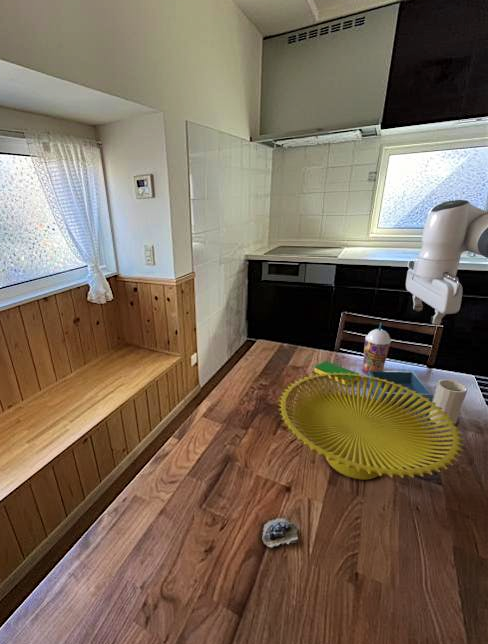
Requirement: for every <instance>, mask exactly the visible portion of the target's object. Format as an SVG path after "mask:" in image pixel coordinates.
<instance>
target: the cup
mask: <svg viewBox="0 0 488 644" xmlns="http://www.w3.org/2000/svg"><path fill="white" fill-rule="evenodd" d="M467 393H468V387H467V386H466V385H465V384H464V383H462V382H459V381H456V380H454V379H445V378H444V379H440V380H438V381H437V383H436V387H435V391H434V393H433V395H434V396H433V400H432V402H433V403H436V404H435V405H436V406H437V407H442V409H441V410H442V411H444V412H448V413H447V414H446V415H447V416H449V417H452V419H450V420H451V421H452V422H455V423H456V424H454V426H456V425H457V422H458V420H459V417H460V413H461V411H462V407H463V404H464V402H465V399H466V395H467ZM431 407H432V405H431ZM437 411H438V410H437V409H436V410H433V411H431V412H429V413H428V415H430V414H433V413H435V412H437ZM440 416H442V415H441V414H439V415H436V416H434V417H431V418H429V419H430V420H433V419H435V418H438V417H440ZM430 420H429V421H430ZM444 421H446V419H443V420H439V421H436V422H433V423H435V424H438V423H441V422H444ZM447 426H449V424H446V425H442V426H441V427H447Z"/></svg>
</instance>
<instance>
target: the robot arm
mask: <svg viewBox="0 0 488 644" xmlns="http://www.w3.org/2000/svg"><path fill="white" fill-rule="evenodd" d="M426 216H427V217H426V219H425V222H424V226H423V230H422V234H421V249H420V250H419V253H418V255H417V258H415V259H409V260H408V261H407V268H408V270H407V271H406V278H405V289H406V291H407V292H409V293H410V294H411V295H412V302H413V306H412V309H413V310H414V311H415V312H421V311H423V307H424V305H423V303H422V302H424V303H425V304H427V305H428V306H430V307H431V308H432V309H434V313H435V314H434V315H431V317H430V323H431V324H433V325H434V326H435V325H440V324H441V323H442V319H443V318H444V317H445V316H446V315H453V314H457V313H458V312H459V311H460V309H461V305H462V298H463V286H462V283H460V280H459V279H460V278H459V277H458V276H457V273H458V269H459V264H460V260H461V256H462V253H464V252H470V253H473V254H475V255H478V256H482V257H485V258H486V259H488V210H485V209H482V208H479V207H477V206H474V204H472V203H470V201H469V200H465V199H455V200H448V201H444V202H440V203H438V204H436V205H435V206H433V207H432V208H431V209H430V210H429V212H428V214H427V215H426Z"/></svg>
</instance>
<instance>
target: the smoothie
mask: <svg viewBox="0 0 488 644" xmlns="http://www.w3.org/2000/svg"><path fill="white" fill-rule="evenodd" d="M382 325H383V322H379V327H378V328H375V329H372V330H371V331H369V332H368V334H367V335H365V337H364V347H363V358H362V368H363V371H364V372H365V373H366V374H368V370H375V371H384V367H385V364H386V360H387V357H388V353H389V349H390V346H391V343H392V338H391V337H390V334H389V333H388V331H386V330H384V329H382Z"/></svg>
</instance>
